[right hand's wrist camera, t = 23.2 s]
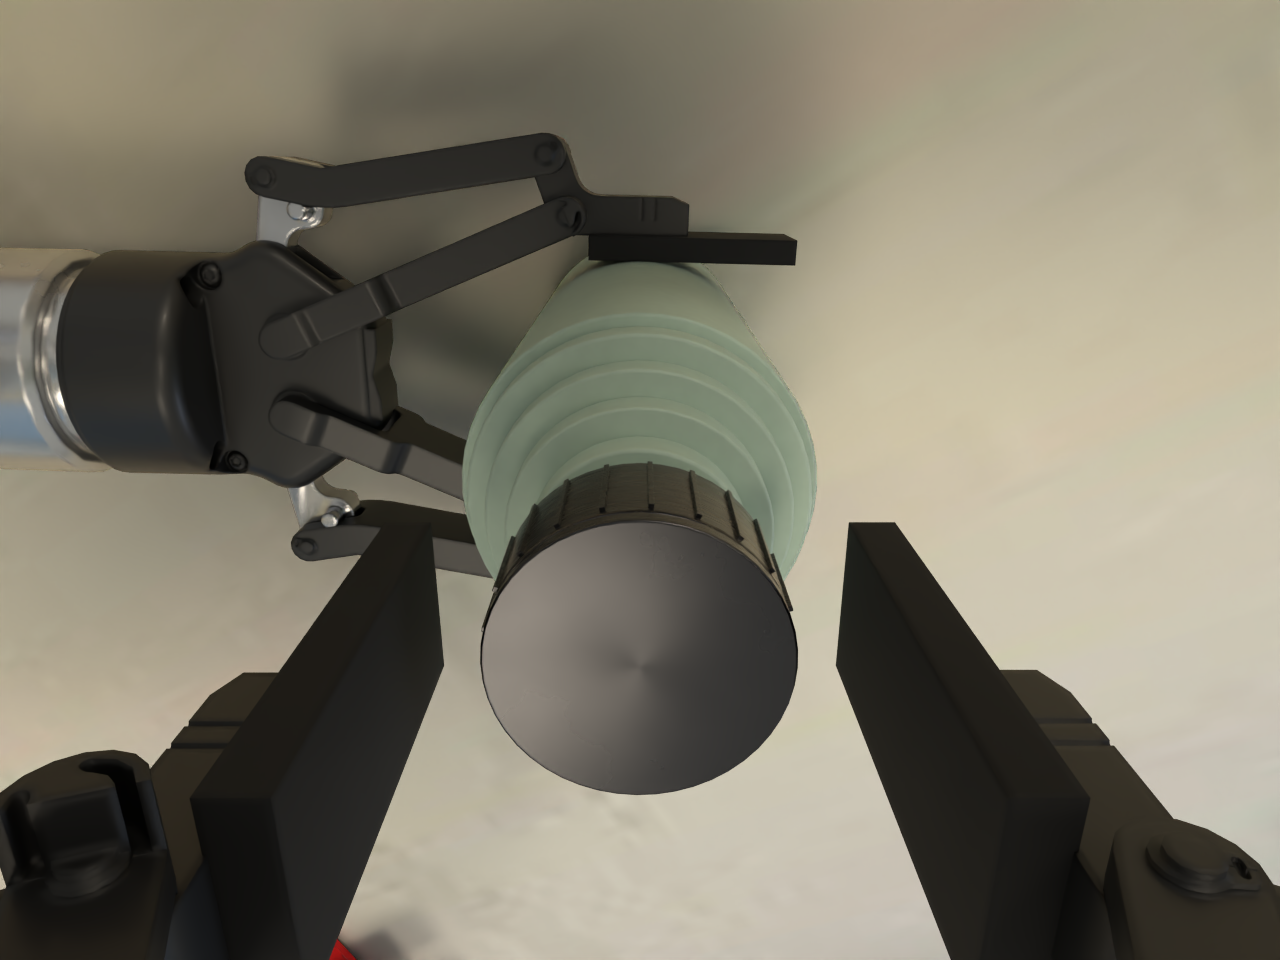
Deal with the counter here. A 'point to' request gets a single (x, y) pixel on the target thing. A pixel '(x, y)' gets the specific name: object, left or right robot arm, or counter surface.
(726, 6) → the counter surface
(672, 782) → the cap
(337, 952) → the toy
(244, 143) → the counter surface
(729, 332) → the bottle
